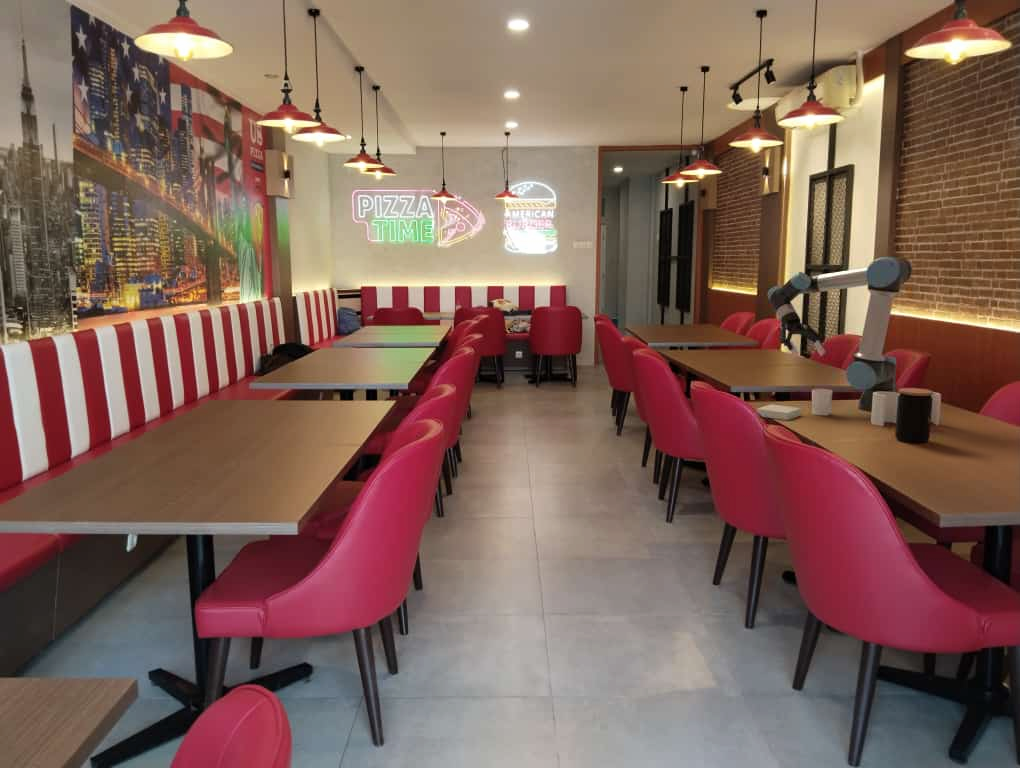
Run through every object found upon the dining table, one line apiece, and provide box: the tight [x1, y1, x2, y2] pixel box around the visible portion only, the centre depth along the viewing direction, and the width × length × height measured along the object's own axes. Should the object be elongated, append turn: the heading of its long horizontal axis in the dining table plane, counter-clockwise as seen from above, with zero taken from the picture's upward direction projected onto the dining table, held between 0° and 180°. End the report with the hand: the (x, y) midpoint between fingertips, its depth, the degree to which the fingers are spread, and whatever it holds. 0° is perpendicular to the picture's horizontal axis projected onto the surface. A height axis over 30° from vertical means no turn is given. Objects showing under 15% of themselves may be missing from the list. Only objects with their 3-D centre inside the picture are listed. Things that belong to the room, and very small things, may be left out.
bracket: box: [870, 391, 942, 427], centre depth 290 cm, size 25×10×12 cm, turn 92°
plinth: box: [756, 404, 802, 421], centre depth 307 cm, size 13×13×3 cm
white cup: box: [811, 388, 833, 416], centre depth 309 cm, size 8×8×10 cm
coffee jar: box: [894, 387, 934, 444], centre depth 262 cm, size 11×11×18 cm
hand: (809, 354), depth 317 cm, fingers open, 13 cm apart
